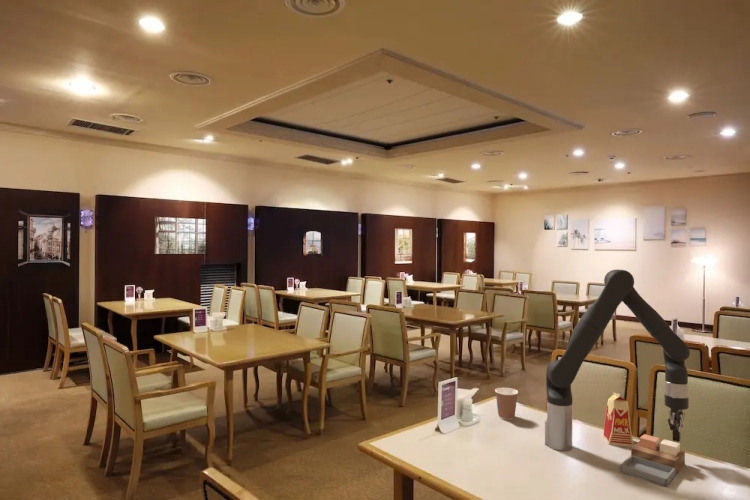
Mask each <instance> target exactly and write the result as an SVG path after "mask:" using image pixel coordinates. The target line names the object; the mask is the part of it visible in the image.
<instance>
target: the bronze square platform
mask: <svg viewBox="0 0 750 500" xmlns="http://www.w3.org/2000/svg"><path fill="white" fill-rule="evenodd" d="M630 449H631V451H630V456H631V455H633V456H636V457H639V458H643V459H646V460H649V461H653V462H656V463H659V464H663V465H666V466H669V467H673V468H676V475H678V473H679V472H680V471H681V469H682V468H683V467H684V466H685V464H686V463H685V462H686V451H685V450H684V449H681V448H680V452H679V453H678V454H677V455H676V456H674V455H670V454H667V453H663V452H660V443H659V447H658V448H657V449H656V450H653V449H649V448H646V447H642V446H640V440H639V441H638V442H637V443H634V446H633V447H630Z"/></svg>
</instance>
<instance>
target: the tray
mask: <svg viewBox="0 0 750 500" xmlns="http://www.w3.org/2000/svg"><path fill="white" fill-rule="evenodd" d="M619 467H620V469H619V472H620V473H623V474H626V475H629V476H632V477H634V478H638V479H641V480H644V481H648V482H649V483H653V484H656V485H659V486H662V487H668V485H669V484H670V483H671V482H672V480H673V479H674V478H675V476H677V474H676V468H673V467H669V466H666V465H663V464H659V463H656V462H653V461H649V460H646V459H643V458H639V457H636V456H633V455H631V454H630V456H628V457H627V458H626V459H625V460H624V461H623V462H622V463H621V464H620V466H619Z"/></svg>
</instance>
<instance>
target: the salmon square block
mask: <svg viewBox="0 0 750 500" xmlns="http://www.w3.org/2000/svg"><path fill="white" fill-rule="evenodd" d="M639 441H640V446H642V447H646V448H649V449H653V450H656V449H657V448H658V447H659V444H660V437H656V436H653V435H649V434H645V433H644V434H643V435H641V436H640V437H639Z"/></svg>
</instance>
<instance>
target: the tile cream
mask: <svg viewBox="0 0 750 500" xmlns="http://www.w3.org/2000/svg"><path fill="white" fill-rule="evenodd" d="M659 444H660V452H663V453H667V454H670V455H674V456H676V455H677V454H678V453H679V452H680V449H681V448H680V447H681V446H680V445H681V443H679V442H677V441H673V440H669V439H662V441H661V442H659Z"/></svg>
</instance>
